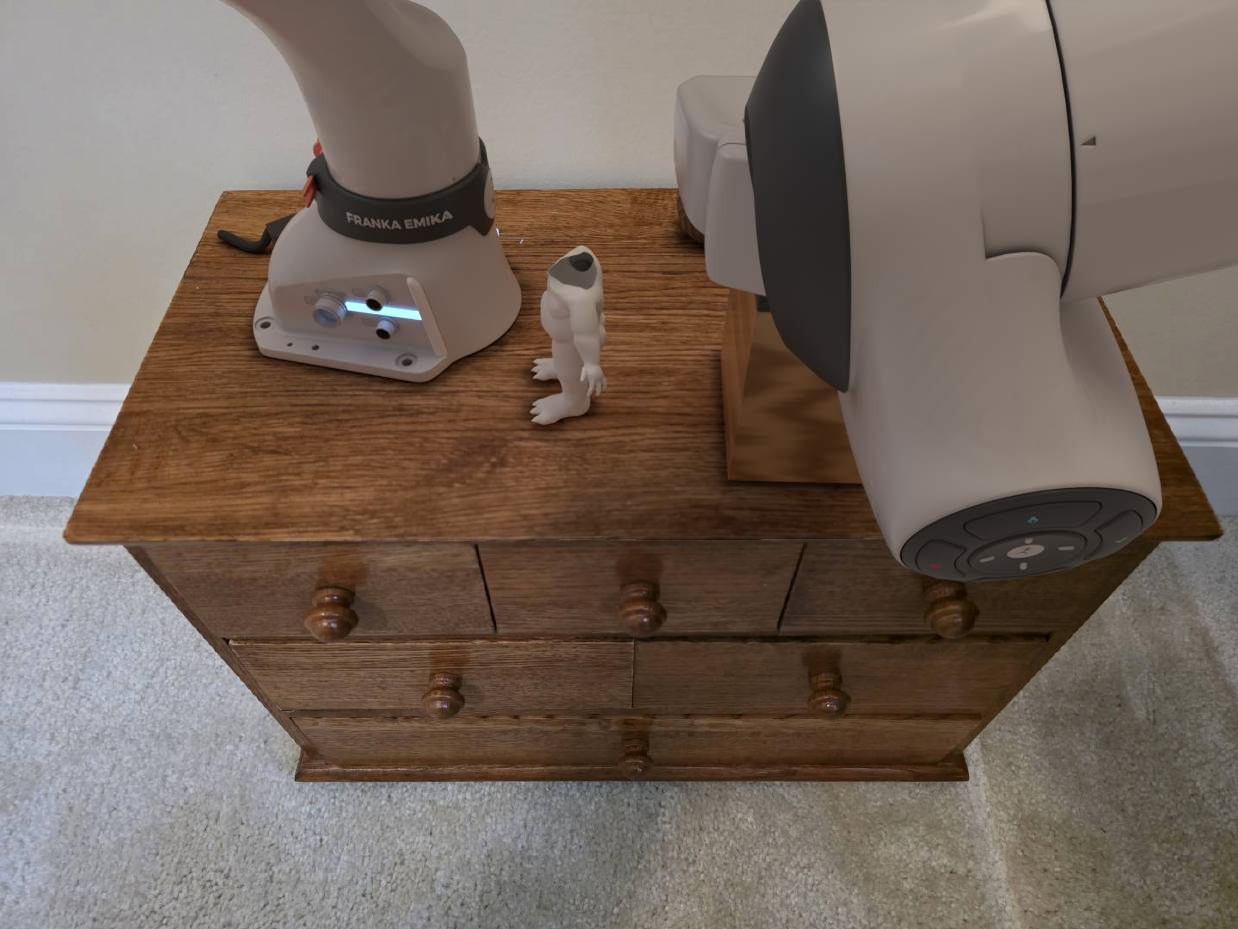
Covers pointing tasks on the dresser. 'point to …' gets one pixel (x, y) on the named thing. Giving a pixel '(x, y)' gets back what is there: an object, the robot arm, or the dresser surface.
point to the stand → (777, 406)
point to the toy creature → (572, 335)
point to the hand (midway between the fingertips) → (867, 64)
